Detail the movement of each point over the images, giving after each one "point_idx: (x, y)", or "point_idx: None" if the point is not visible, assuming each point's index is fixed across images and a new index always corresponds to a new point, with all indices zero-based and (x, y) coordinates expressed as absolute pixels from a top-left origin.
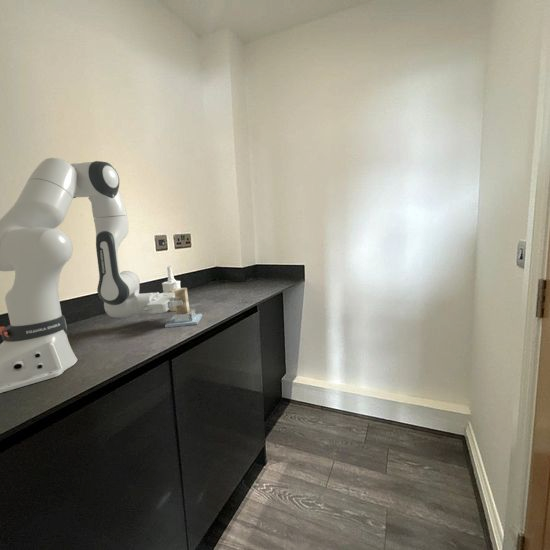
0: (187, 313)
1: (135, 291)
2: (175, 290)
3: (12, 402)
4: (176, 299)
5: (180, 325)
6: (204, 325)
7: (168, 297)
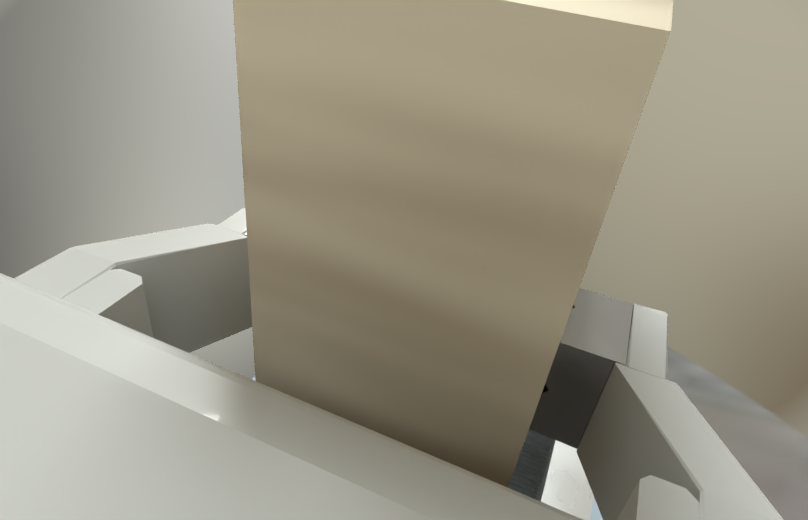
0: (567, 452)
1: None
2: (666, 33)
3: None
4: (555, 353)
5: None
6: (713, 428)
7: (111, 488)
